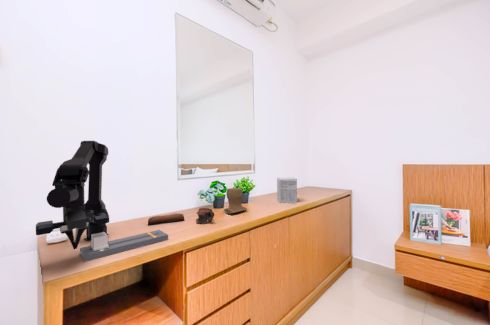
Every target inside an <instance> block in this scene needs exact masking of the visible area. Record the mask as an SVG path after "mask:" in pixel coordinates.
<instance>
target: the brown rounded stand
mask: <svg viewBox="0 0 490 325" xmlns="http://www.w3.org/2000/svg"><path fill="white" fill-rule="evenodd" d="M243 197H244V196H243V188H241V187H230V188H227V189H226V198H227V201H228V206H227V207H226V208H224V209H223V212H224V213H225V214H227V215H232V214H236V213H237V214H238V213H241V212H244V211H246V210H248V208H247V207H244V206H243V205H242V202H243Z"/></svg>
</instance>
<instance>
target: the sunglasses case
mask: <svg viewBox="0 0 490 325" xmlns="http://www.w3.org/2000/svg"><path fill="white" fill-rule="evenodd" d="M176 221H185V215H184V214H182V213H178V212H177V213H172V214H166V215H155V216H152V217H151V216H150V217H149V218H148V219H147V226H150V225H151V226H152V225H155V224H161V223H168V222H176Z"/></svg>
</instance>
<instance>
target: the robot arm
mask: <svg viewBox="0 0 490 325" xmlns="http://www.w3.org/2000/svg"><path fill="white" fill-rule="evenodd" d="M108 155H109V148H108V146H106V144H102V143H100V142H98V141H96V140H83V141H82V140H81V142H80V146H79V147H78V149H76V152H75V153H74V154H73V156H72V157H71V159H67V160H65V161H63V162H62V163H61V164H60V165H59V167H57V170H56V172H55V176H54V178H53V180H52V184H51V185H52V187H54V188H53V189H51V190H50V191H49V192H48V194H47V196H46V202H47V204H48V205H49V206H50V207H52V208H55V209H56V208H57V209H61V208H62V215H63V216H62V219H63V220H62V221H59V222H53V220H46V221H39V222H37V223H36V224H35V236H42V235H49V234H51V233H52V232H53V231H54V230H55V229H56V230H57V229H59V232H60V234H65V235H66V236H67V238H68V240H69V241H70V244H71V247H72V249H73V250H76V249H78V247H79V243H80V241H81V238H82V236H83V234H84V232H86V237H85V238H84V239H83V240H84V241H91V235H92V234H97V233H102V232H105V233H106V234H107V236H109V233H108V226H107V225H106V224H108V223H110V215H109V212H108V210H107V208H106V207H107V206H106V204H105V203H104V201H103V199H102V185H103V184H102V183H103V182H102V181H103V179H102V178H103V165H104V164H105V162H106V161H107V160H108V159H107V158H108ZM87 181H88V187H87V188H88V189H87V190H88V191H87V194H88V196H87V200H86V202H85V186H86V184H85V183H87ZM73 230H75V236H74V231H73Z"/></svg>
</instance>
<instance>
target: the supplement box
mask: <svg viewBox="0 0 490 325" xmlns="http://www.w3.org/2000/svg"><path fill="white" fill-rule="evenodd" d="M276 196H277V197H276V198H277V199H276V200H277V201H278V203H280V204H281V203H282V204H283V203H285V204H286V203H287V204H289V203H291V204H292V203H295V204H297V203H298V180H297V178H295V177H277V178H276Z"/></svg>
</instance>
